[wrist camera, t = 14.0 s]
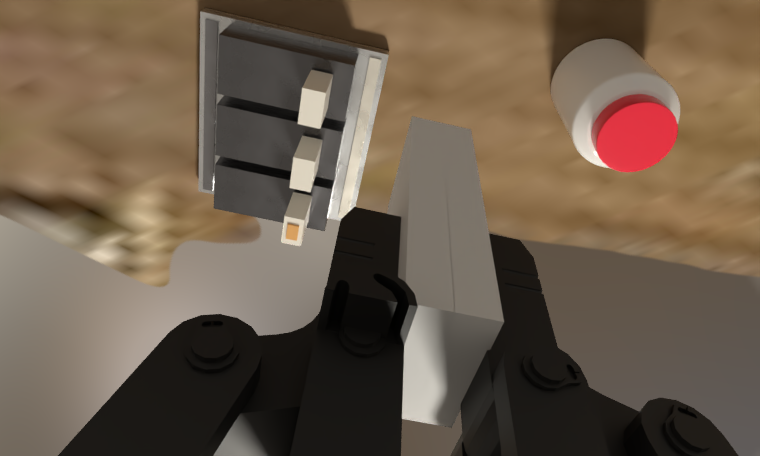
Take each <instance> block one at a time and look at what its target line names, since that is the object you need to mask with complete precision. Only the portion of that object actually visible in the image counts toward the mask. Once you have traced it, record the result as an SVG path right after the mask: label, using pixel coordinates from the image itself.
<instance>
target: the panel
mask: <svg viewBox="0 0 760 456" xmlns="http://www.w3.org/2000/svg"><path fill="white" fill-rule="evenodd" d="M388 55H389V50H385V49H381V48H376V47H372V46H368V45H363V44H359V43H355V42H350V41H346V40H342V39H338V38H333V37H329V36H325V35H320V34H316V33H312V32H307V31H303V30H299V29H294V28H290V27H286V26H282V25H277V24H273V23H269V22H264V21H260V20H256V19H251V18H247V17H243V16H239V15H234V14H230V13H226V12H221V11H217V10H213V9H208V8H204V9H203V10H201V11H200V93H199V191H201V192H205V193H210V194H214V208H215V209H219V210H224V211H229V212H234V213H239V214H244V215H249V216H253V217H258V218H263V219H268V220H273V221H278V222H282V223H284V216H285V213H286V211H287V208H288V205H289V203H290V200H291V197H292V194H293V192H296V193H300V194H305V195H310V196H312V201H311V207H310V213H309V220H308V224H307V228H312V229H317V230H321V231H325V227H326V223H327V220H328V218H330V219H335V220H340V221H341V219H342V218H343V217H344V216H345V215H346V214H347V213H348V212H349V211H350V210H351V209H352V208H353V207H355V205H356V201H357V196H358V192H359V187H360V183H361V178H362V174H363V169H364V164H365V160H366V155H367V151H368V146H369V142H370V137H371V133H372V128H373V124H374V119H375V114H376V110H377V105H378V101H379V96H380V92H381V87H382V83H383V78H384V74H385V69H386V64H387V60H388ZM311 70H315V71H320V72H324V73H329V74H333V79H332V85H331V91H330V97H329V103H328V109H327V112H326V115H325V117H324V120H323V123H322V126H321V129H318V128H314V127H309V126H305V125H300V124H298V117H299V109H300V101H301V94H302V87H303V85H304V83H305V81H306V79H307V77H308V75H309V73H310V71H311ZM302 136H307V137H311V138H316V139H321V140H323V141H322V147H321V153H320V159H319V165H318V170H317V173H316V177H315V180H314V183H313V186H312V189H311V192H306V191H302V190H297V189H292V188H289V187H290V179H291V172H292V164H293V157H294V154H295V152H296V150H297V147H298V145H299V142H300V140H301V138H302Z"/></svg>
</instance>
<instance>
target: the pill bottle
mask: <svg viewBox="0 0 760 456" xmlns="http://www.w3.org/2000/svg"><path fill="white" fill-rule="evenodd" d="M551 98H552V102H553V104H554V106H555V108H556V110H557V112H558V114H559V116H560V118H561V120H562V122H563V124H564V126H565V128H566V130H567V132H568V134H569V136H570V138H571V140H572V141H573V143H574V145H575V147H576V149H577V150H578V152H579V153H580V154H581V156H583V157H584V158H585V159H586V160H588V161H589V162H591V163H593V164H595V165H598V166H601V167H605V168H612V169H614V170H617V171H621V172H635V171H640V170H643V169H646V168H648V167H651V166H653V165H654V164H656V163H658V162H659V161H660V160H661V159H663V158H664V157H665V156H666V155H667V154H668V152H669V151H670V150H671V148H672V147H673V145H674V143H675V141H676V138H677V133H678V123H679V118H680V102H679V99H678V96H677V93H676V92H675V90H674V88H673V87H672V86H671V85H670V84H669V83H668V82H667V81H666V80H665V79H664V78H663V77H662V76H661V75H660V74H659V73H658V72H657V71H656V70H655V69H654V68H653V67H651V66H650V65H649V64H648V63H647V62H646V61H645V60H644V59H643V58H642V57H641V56H640V55H639V54H638V53H637V52H636V51H635V50H634V49H633V48H632V47H630V46H629V45H627V44H626V43H624V42H622V41H619V40H615V39H605V38H604V39H597V40H592V41H589V42H586V43H584V44H582V45H580V46H578V47H576V48H575V49H574V50H572V51H571V52H570V53H568V54H567V55H566V57H565V58H564V59H563V60H562V61H561V62H560V64H559V65H558V67H557V68H556V71H555V73H554V75H553V78H552V82H551Z"/></svg>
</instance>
